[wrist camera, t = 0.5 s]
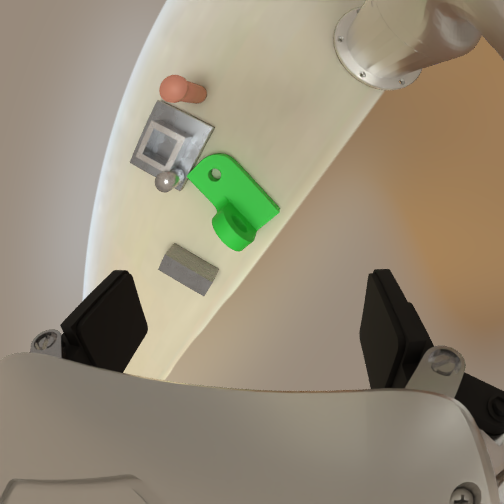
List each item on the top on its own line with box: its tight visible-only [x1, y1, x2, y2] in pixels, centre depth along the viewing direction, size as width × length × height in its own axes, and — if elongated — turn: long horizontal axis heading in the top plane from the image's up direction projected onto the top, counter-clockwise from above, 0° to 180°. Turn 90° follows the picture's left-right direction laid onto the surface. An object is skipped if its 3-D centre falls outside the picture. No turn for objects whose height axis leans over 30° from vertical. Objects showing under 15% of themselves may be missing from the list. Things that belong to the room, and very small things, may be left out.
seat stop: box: [158, 244, 219, 296], centre depth 44 cm, size 3×8×4 cm, turn 60°
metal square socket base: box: [130, 100, 215, 192], centre depth 35 cm, size 10×9×5 cm
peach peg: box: [160, 75, 207, 103], centre depth 30 cm, size 3×3×9 cm
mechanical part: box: [186, 153, 280, 251], centre depth 36 cm, size 12×6×8 cm, turn 43°
